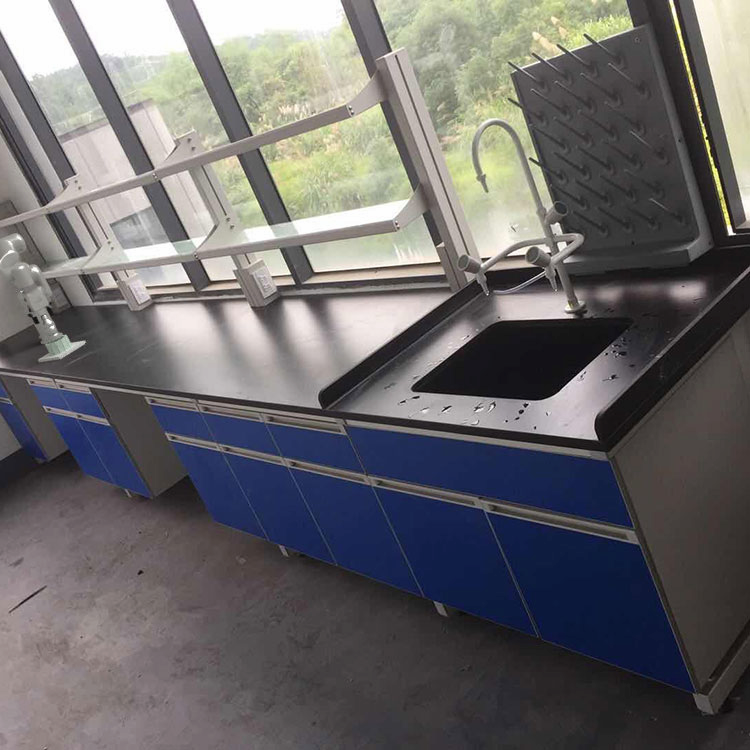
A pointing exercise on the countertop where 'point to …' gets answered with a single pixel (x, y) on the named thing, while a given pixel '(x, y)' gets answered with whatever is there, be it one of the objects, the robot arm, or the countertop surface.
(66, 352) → the bottle stand
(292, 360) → the countertop surface
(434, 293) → the countertop surface
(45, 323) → the plastic bottle
